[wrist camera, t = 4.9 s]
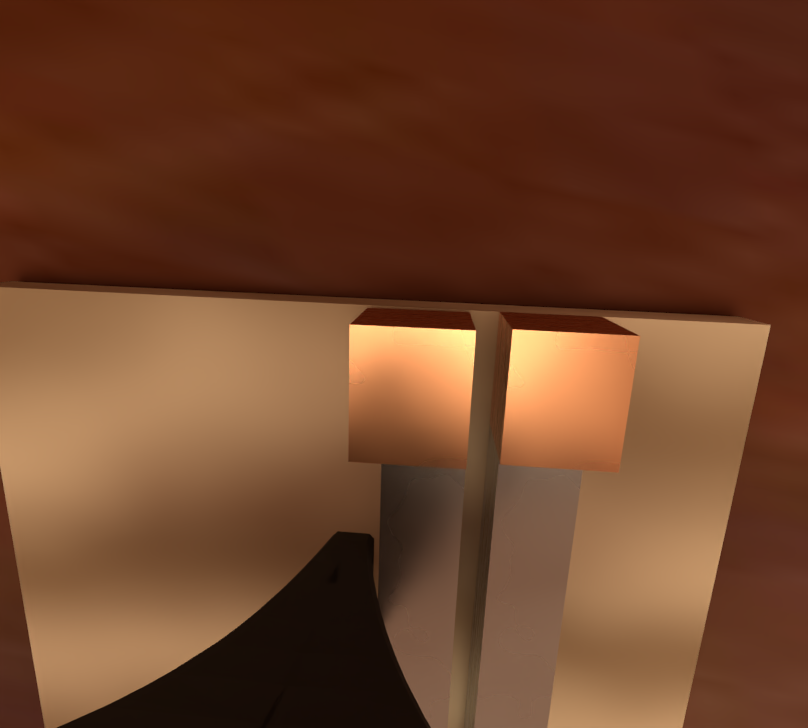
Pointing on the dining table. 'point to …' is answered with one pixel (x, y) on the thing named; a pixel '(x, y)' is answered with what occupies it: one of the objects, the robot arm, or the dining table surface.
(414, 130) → the dining table surface
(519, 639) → the tongs fixed
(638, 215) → the dining table surface
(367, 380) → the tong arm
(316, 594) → the robot arm
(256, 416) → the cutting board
